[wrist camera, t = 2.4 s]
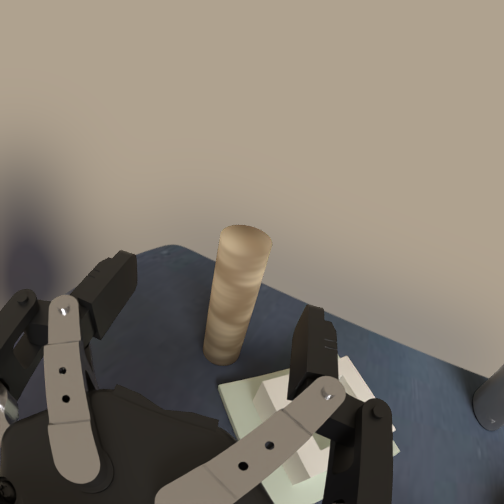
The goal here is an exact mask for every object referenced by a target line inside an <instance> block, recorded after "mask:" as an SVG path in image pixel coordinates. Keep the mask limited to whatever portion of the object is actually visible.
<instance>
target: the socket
mask: <svg viewBox="0 0 504 504" xmlns="http://www.w3.org/2000/svg"><path fill="white" fill-rule="evenodd" d="M289 372H290V368H289V369H285V370H281V371H278V372H274V373H270V374H266V375H262V376H257V377H253V378H249V379H244V380H240V381H235V382H230V383H225V384H220V385H219V386H218V391H219V394H220V396H221V399H222V402H223V404H224V407H225V410H226V412H227V415H228V417H229V420H230V422H231V425H232V427H233V430H234V432H235V435H236V437H237V440H238V441H239V440H241V439H242V438H243V437H245V436H246V435H247V434H249V433H250V432H251V431H253V430H254V429H255V428H257V427H258V426H259V425H261V424H262V423H263V422H264V421H266V420H267V419H268V418H269V417H271V416H272V415H273V414H274V413H276V412H277V411H278V410H280V409H283V408H285V407H286V406H287V405H288V404H289V403H291V402H292V401H290V400H287V392H288V382H289ZM338 375H339V381H340V382H341V383H342V385H343V386H344V388H345V391H346V393H347V394H349V395H350V396H352V397H354V398H357V399H359V400H361V401H363V402H366V401H367V400H369V399H372V398H375V397H374V395H373V394H372V392H371V391H370V389H369V388H368V386H367V385H366V383H365V382H364V380H363V379H362V377H361V376H360V374H359V373H358V371H357V370H356V368H355V367H354V365H353V364H352V362H351V361H350V359H349V358H348V356H345V357H342V358H340V357H339V356H338ZM395 430H396V429H395V427H394V426H393V424H392V431H395ZM329 450H330V439H328V438H326V437H323V436H321V435H319V434H317V433H314V434H313V435H312V437H311V438H310V439H309V440H308V441H307V442H306V443H305V444H304V445H303V446H302V447H301V448H300V449H298V450H297V451H296V452H295V453H294V454H293V455H292V456H291V457H290V458H289V459H288V460H286V461H285V462H284V463H283V464H282V465H281V466H280V467H279V468H277V469H276V470H275V471H274V472H273V473H272V474H270V475H269V476H268V477H267V478H265V479H264V480H263V481H262V484H263V486H264V487H265V489H266V491H267V492H268V494H269V495H270V497H271V499H272V500H273V502H274V504H313V503H316V502H318V501H320V500H322V499H323V495H324V488H325V482H326V474H327V467H328V459H329ZM399 452H400V450H399V449H398V447H397V446H396V444H395V443H394V441H393V456H395V455H396V454H397V453H399Z"/></svg>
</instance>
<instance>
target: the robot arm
mask: <svg viewBox="0 0 504 504" xmlns="http://www.w3.org/2000/svg"><path fill="white" fill-rule="evenodd" d="M136 286H137V259H136V255H135V254H132V253H128V252H125V251H122V250H121V251H119V252H118V253H117V254H116V255H115V256H114V257H113V258H107V259H105V260H103V261H101V262H99V263H98V264H97V266H96V267H95V268H94V269H93V270H92V271H91V272H90V273H89V274H88V276H86V277H85V278H84V280H83V281H82V282H81V283H80V284H79V285H78V286H77V287H76V288H75V290H74V291H73V292H72V293H71V294H70V295H62V296H58V297H57V298H55V299H54V300H53V301H52V302H50V301H42V300H37V297H36V295H35V293H34V292H33V291H32V290H29V289H23V290H20V291H18V292H17V293H15V294H14V296H12V298H11V299H10V300H9V301H8V302H7V304H6V305H5V306H4V307H3V308H2V310H1V311H0V447H1V468H0V504H274V502H273V500H272V499H271V497H270V495H269V494H268V492H267V491H266V489H265V487H264V486H263V484H262V481H263V480H264V479H265V478H267V477H268V476H269V475H270V474H272V473H273V472H274V471H275V470H276V469H277V468H279V467H280V466H281V465H282V464H283V463H284V462H285V461H286V460H288V459H289V458H290V457H291V456H292V455H293V454H294V453H295V452H296V451H297V450H298V449H300V448H301V447H302V446H303V445H304V444H305V443H306V442H307V441H308V440H309V439H310V438H311V437H312V435H313V434H314V433H317V434H319V435H321V436H323V437H326V438H328V439H330V450H329V459H328V467H327V474H326V482H325V488H324V495H323V501H322V504H391V501H392V482H393V431H392V413H391V409H390V407H389V406H388V404H387V403H386V402H384V401H383V400H381V399H378V398H372V399H369V400H367V401H366V402H363V401H361V400H359V399H357V398H354V397H352V396H350V395H349V394H347V393H346V391H345V388H344V386H343V385H342V383H341V382H340V381H339V375H338V353H337V343H336V342H337V336H336V330H335V328H334V326H333V324H332V322H329V321H325V320H324V309H323V308H320V307H316V306H312V305H308V304H307V305H306V307H305V309H304V311H303V313H302V315H301V317H300V319H299V321H298V323H297V326H296V328H295V331H294V334H293V339H292V351H291V362H290V372H289V382H288V392H287V400H290V401H292V402H291V403H289V404H288V405H287V406H286V407H285V408H283V409H280V410H278V411H277V412H276V413H274V414H273V415H272V416H271V417H269V418H268V419H267V420H266V421H264V422H263V423H262V424H261V425H259V426H258V427H257V428H255V429H254V430H253V431H251V432H250V433H249V434H247V435H246V436H245V437H243V438H242V439H241V440H239V441H238V442H237V441H236V439H235V438H234V437H233V436H231V435H230V434H229V433H228V432H226V431H225V430H223V429H222V428H220V427H218V426H217V425H218V422H219V420H217V419H213V418H209V417H206V416H202V415H199V414H196V413H192V412H181V411H171V410H164V409H162V408H160V407H159V406H157V405H155V404H154V403H152V402H151V401H150V400H148V399H147V398H145V397H144V396H142V395H141V394H139V393H137V392H134V391H132V390H129V389H127V388H125V387H122V386H120V385H118V384H117V385H116V387H115V389H114V390H111V389H99V386H98V383H97V380H96V376H95V370H94V364H93V358H92V351H91V344H90V340H91V339H92V337H95V338H97V339H100V340H101V339H102V338H103V336H104V335H105V333H106V332H107V330H108V329H109V327H110V326H111V324H112V323H113V321H114V320H115V318H116V317H117V315H118V314H119V313H120V311H121V310H122V308H123V307H124V305H125V304H126V302H127V301H128V300H129V298H130V297H131V295H132V294H133V293H134V291H135V289H136ZM23 331H24V335H23V336H22V338H21V339H20V340H19V342H18V343H17V345H16V346H15V348H14V349H13V347H14V344H15V342H16V341H17V340H18V338H19V337H20V335H21V334H22V332H23ZM43 356H44V372H45V387H46V398H47V407H48V409H47V410H44V411H42V412H39V413H37V414H34V415H32V416H29V417H27V418H24V419H21V420H19V421H17V420H18V419H19V414H18V403H17V401H18V399H19V397H20V395H21V393H22V392H23V390H24V388H25V386H26V384H27V383H28V381H29V379H30V377H31V376H32V374H33V372H34V371H35V369H36V367H37V366H38V364H39V362H40V361H41V359H42V357H43ZM473 408H474V412H475V415H476V417H477V419H478V421H479V422H480V424H481V425H482V426H483V427H484V428H485V429H487V430H490V431H495V430H497V429H499V428H500V427H501V426H503V425H504V365H503V366H502V367H501V368H500V369H499V370H498V371H497V372H496V373H495V374H494V375H492V376H491V377H490V378H489V379H488V380H487V381H486V382H485V383H484V384H483V385H482V386H481V387H479V388H478V389H477V390H476V392H475V394H474V397H473Z"/></svg>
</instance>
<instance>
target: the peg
mask: <svg viewBox="0 0 504 504" xmlns="http://www.w3.org/2000/svg"><path fill="white" fill-rule="evenodd" d="M271 247H272V240H271V239H270V237H269V236H268V235H267V234H266V233H264V232H263V231H261V230H259V229H257V228H254V227H251V226H246V225H232V226H228V227H226V228H224V229H223V230H222V232H221V235H220V240H219V247H218V252H217V258H216V264H215V271H214V277H213V283H212V290H211V296H210V303H209V310H208V317H207V324H206V331H205V338H204V345H203V353H204V355H205V357H206V358H207V359H208V360H209V361H210V362H211V363H213V364H216V365H220V366H226V365H230V364H232V363H234V362H235V361H236V360H237V359H238V357H239V354H240V351H241V347H242V344H243V341H244V338H245V334H246V331H247V328H248V325H249V321H250V318H251V315H252V312H253V308H254V305H255V302H256V298H257V295H258V292H259V288H260V285H261V281H262V278H263V275H264V271H265V268H266V265H267V261H268V258H269V254H270V251H271Z"/></svg>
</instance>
